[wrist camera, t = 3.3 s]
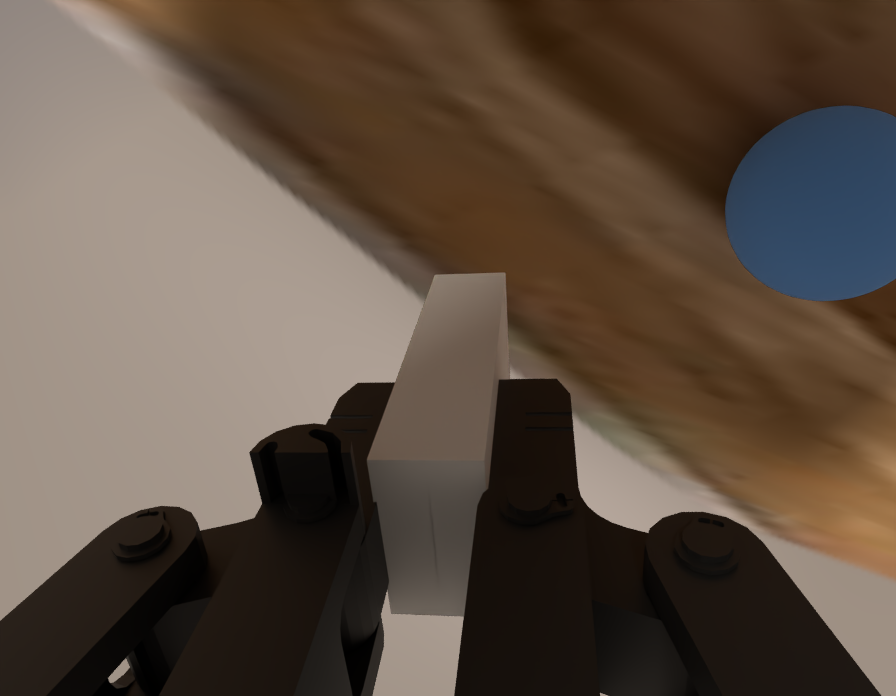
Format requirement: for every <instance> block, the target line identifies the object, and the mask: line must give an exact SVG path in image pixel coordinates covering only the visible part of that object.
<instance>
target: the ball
mask: <svg viewBox="0 0 896 696" xmlns="http://www.w3.org/2000/svg"><path fill="white" fill-rule="evenodd" d="M725 219H726V228H727V233H728V237H729V240H730V243H731V245H732V247H733V249H734V251H735V253H736V255H737V257H738V259H739V260H740V261H741V263H742V264H743V265H744V267H745V268H746V269H747V270H748V271H749V272H750V273H751V274H752V275H753V276H754V277H755V278H756V279H758V280H759V281H761V282H762V283H763V284H765V285H766V286H768V287H770V288H772V289H774V290H776V291H778V292H780V293H782V294H785V295H788V296H791V297H795V298H800V299H805V300H812V301H835V300H842V299H849V298H853V297H857V296H861V295H864V294H867V293H870V292H872V291H875V290H877V289H879V288H881V287H883V286H885V285H886V284H888V283H890V282H891V281H893V280H895V279H896V117H894V116H892V115H891V114H888V113H885V112H882V111H880V110H876V109H871V108H866V107H860V106H832V107H825V108H820V109H815V110H811V111H808V112H805V113H802V114H799V115H797V116H795V117H793V118H790V119H788V120H786V121H785V122H783V123H781V124H780V125H778V126H776V127H775V128H773V129H772V130H771V131H769V132H768V133H767V134H765V135H764V136H763V137H762V138H761V139H760V140H759V141H758V142H757V143H755V144H754V146H753V147H752V148H751V149H750V150H749V151H748V153H747V154H746V155H745V157H744V158H743V160H742V161H741V162H740V164H739V166H738V168H737V170H736V172H735V174H734V175H733V178H732V180H731V183H730V186H729V189H728V193H727V198H726V206H725Z"/></svg>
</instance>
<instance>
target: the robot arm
mask: <svg viewBox="0 0 896 696" xmlns="http://www.w3.org/2000/svg"><path fill="white" fill-rule="evenodd" d="M250 457H251V460H252V464H253V468H254V472H255V476H256V480H257V484H258V488H259V492H260V496H261V500H262V505H261V507H260V509H259V511H258V513H257V514H256V516H255V518H253V519H250V520H246V521H243V522H239V523H235V524H230V525H225V526H221V527H216V528H211V529H207V530H202V531H200V529H199V526H198V523H197V521H196V519H195V518H194V516H193V515H192V513H191V512H189V511H187V510H184V509H182V508H180V507H170V506H169V507H168V506H159V507H154V508H149V509H144V510H140V511H138V512H135V513H133V514H131V515H129V516H126V517H124V518H121V519H120V520H119V521H117V522H115V523H114V524H112V525H111V526H110V527H109V528H107V529H105V530H104V531H103V532H101V533H100V534H99V535H98V536H97V537H96V538H95V539H93V540H92V541H91V542H90V543H89V544H88V545H87V546H85V547H84V548H83V549H82V550H81V551H80V552H79V553H77V554H76V555H75V556H74V557H73V558H72V559H70V560H69V561H68V562H67V563H66V564H65V565H64V566H62V567H61V568H60V569H59V570H58V571H57V572H56V573H54V574H53V575H52V576H51V577H50V578H49V579H48V580H46V581H45V582H44V583H43V584H42V585H41V586H40V587H39V588H38V589H36V590H35V591H34V592H33V593H32V594H31V595H29V596H28V597H27V598H26V599H25V600H24V601H23V602H21V603H20V604H19V605H18V606H17V607H16V608H15V609H13V610H12V611H11V612H10V613H9V614H8V615H6V616H5V617H4V618H3V619H2V620H1V621H0V696H372V694H373V690H374V686H375V682H376V677H377V673H378V669H379V664H380V660H381V656H382V651H383V647H384V631H383V625H382V619H381V612H382V608H383V604H384V600H385V595H386V592H387V590H388V596H389V602H390V608H391V613H392V614H415V615H443V616H464V620H463V628H462V636H461V645H460V654H459V661H458V670H457V678H456V687H455V695H454V696H600V693H603V694H606V695H608V696H881V695H880V694H879V692H878V691H877V689H876V688H875V687H874V686H873V684H872V683H871V682H870V680H869V679H868V678H867V676H866V675H865V674H864V673H863V672H862V670H861V669H860V667H859V666H858V665H857V664H856V662H855V661H854V660H853V658H852V657H851V656H850V654H849V653H848V652H847V651H846V649H845V648H844V647H843V646H842V644H841V643H840V642H839V640H838V639H837V638H836V636H835V635H834V634H833V632H832V631H831V630H830V629H829V628H828V626H827V625H826V623H825V622H824V621H823V619H822V618H821V617H820V616H819V614H818V613H817V612H816V610H815V609H814V608H813V607H812V605H811V604H810V603H809V601H808V600H807V599H806V597H805V596H804V595H803V594H802V592H801V591H800V590H799V588H798V587H797V586H796V585H795V583H794V582H793V581H792V579H791V578H790V577H789V575H788V574H787V573H786V572H785V570H784V569H783V568H782V566H781V565H780V564H779V563H778V561H777V560H776V559H775V557H774V556H773V555H772V553H771V552H770V551H769V550H768V548H767V547H766V546H765V544H764V543H763V542H762V541H761V540H760V539H759V538H758V537H757V536H756V535H754V534H753V533H752V532H751V531H750V530H749V529H748V528H747V527H745V526H743V525H741V524H739V523H737V522H735V521H733V520H731V519H729V518H727V517H723V516H719V515H714V514H710V513H706V512H681V513H677V514H674V515H671V516H668V517H664V518H662V519H661V520H660V521H658V522H657V523H656V524H655V525H654V526H652V527H651V528H650V530H649V533H645V532H641V531H637V530H634V529H630V528H626V527H623V526H620V525H617V524H614V523H611V522H610V521H608V520H606V519H604V518H602V517H600V516H599V515H597V514H596V513H595V512H593V511H592V510H591V509H590V508H589V507H588V506H587V505H586V503H585V502H584V500H583V499H582V497H581V495H580V491H579V488H578V479H577V467H576V455H575V443H574V432H573V420H572V408H571V397H570V393H569V392H568V391H567V390H566V389H565V388H564V386H563V385H562V384H561V383H560V382H559V381H558V380H557V379H510V368H509V344H508V320H507V297H506V273H505V272H504V273H473V274H442V275H435V276H434V278H433V281H432V284H431V287H430V289H429V292H428V295H427V297H426V300H425V303H424V306H423V308H422V311H421V314H420V317H419V319H418V322H417V325H416V327H415V330H414V333H413V335H412V338H411V341H410V344H409V347H408V349H407V352H406V355H405V358H404V360H403V363H402V366H401V368H400V371H399V374H398V376H397V379H396V382H395V383H357V384H356V385H355V386H353V387H352V388H351V389H350V390H348V391H347V392H346V393H345V394H343V395H342V396H341V397H340V398H339V399H338V401H337V403H336V406H335V407H334V410H333V411H332V413H331V419H329V420H328V422H327V424H326V425H323V424H305V425H296V426H292V427H289V428H286V429H283V430H280V431H277V432H275V433H273V434H271V435H270V436H268V437H266V438H265V439H263V440H261V441H260V442H259V443H258V444H257V445H256V446H255V447H254V448H253V449H252V450H251V451H250ZM125 658H126V659H127V661H128V663H129V666H130V668H129V669H128V671H127V672H126V673H125V674H124V675H123V676H121V677H120V678H119V679H118V680H117V681H115V682H114V683H110V682H109V680H108V677H109V676H110V675H111V674H112V673H113V672H114V670H115V669H116V668H117V667H118V666H119V665H120V664H121V662H122V661H123V660H124V659H125Z"/></svg>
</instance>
